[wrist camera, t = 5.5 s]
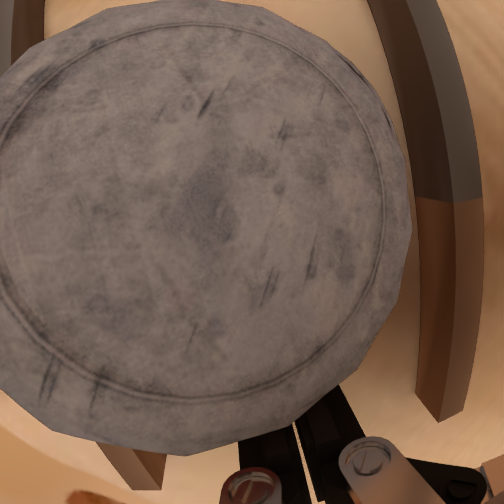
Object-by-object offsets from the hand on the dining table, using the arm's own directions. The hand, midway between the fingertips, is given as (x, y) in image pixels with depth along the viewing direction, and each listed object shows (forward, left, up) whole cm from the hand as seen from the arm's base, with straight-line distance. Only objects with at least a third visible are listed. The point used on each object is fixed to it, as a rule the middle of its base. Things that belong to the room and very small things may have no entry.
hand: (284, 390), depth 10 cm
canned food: (0, -7, -3) cm, 7 cm away
